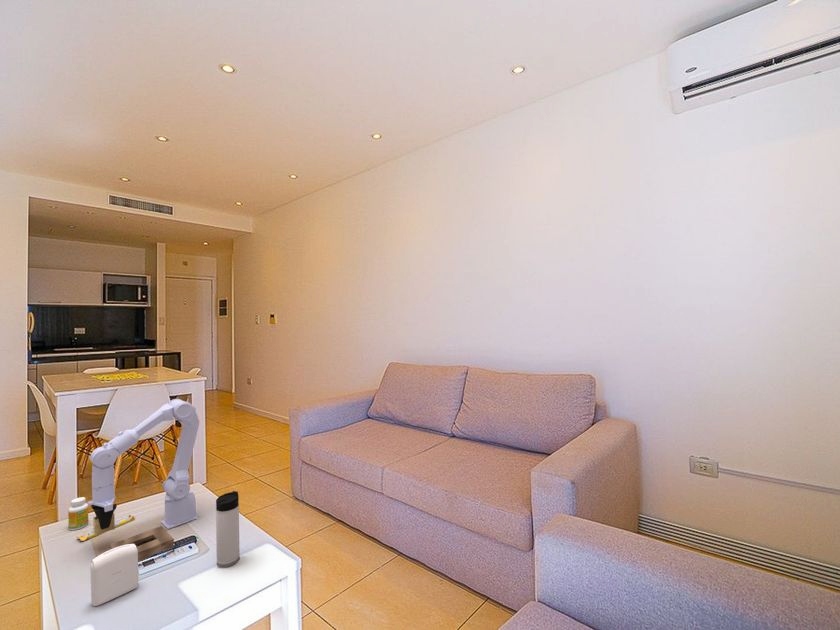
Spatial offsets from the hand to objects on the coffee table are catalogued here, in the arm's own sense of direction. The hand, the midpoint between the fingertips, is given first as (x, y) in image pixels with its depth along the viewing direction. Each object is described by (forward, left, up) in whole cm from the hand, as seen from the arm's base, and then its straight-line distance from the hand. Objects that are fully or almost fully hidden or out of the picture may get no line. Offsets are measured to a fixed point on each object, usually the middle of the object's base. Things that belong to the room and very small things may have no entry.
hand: (104, 526), depth 127 cm
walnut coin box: (-7, +14, -7) cm, 17 cm away
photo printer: (+3, +30, -7) cm, 31 cm away
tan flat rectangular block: (0, 0, -1) cm, 1 cm away
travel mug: (-23, +39, -7) cm, 46 cm away
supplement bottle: (+3, -24, -7) cm, 25 cm away
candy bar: (-3, -14, -8) cm, 16 cm away
